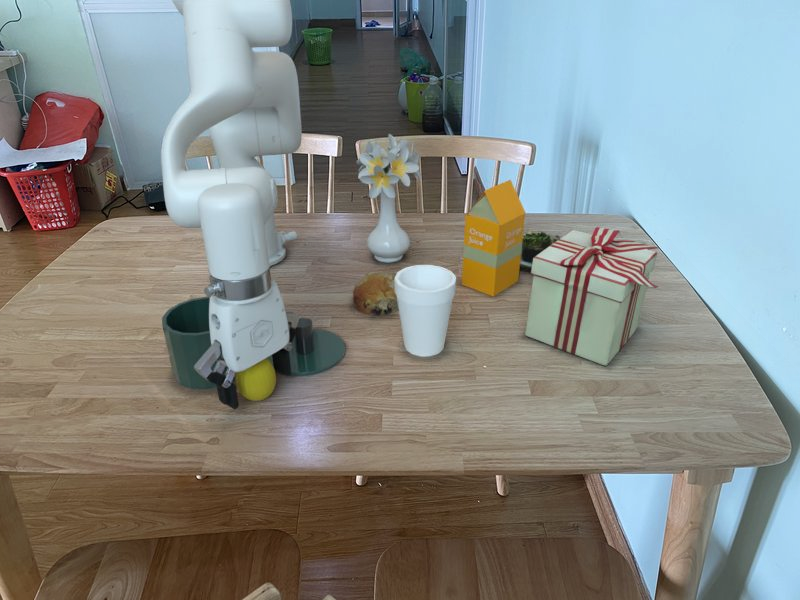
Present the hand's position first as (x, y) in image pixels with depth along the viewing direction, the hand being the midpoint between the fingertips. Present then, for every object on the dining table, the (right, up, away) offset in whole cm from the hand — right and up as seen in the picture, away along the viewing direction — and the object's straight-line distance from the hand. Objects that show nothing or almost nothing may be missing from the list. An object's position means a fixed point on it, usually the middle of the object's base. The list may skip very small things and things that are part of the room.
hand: (257, 387), depth 86 cm
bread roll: (+17, +11, +26) cm, 33 cm away
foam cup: (+24, +4, +13) cm, 28 cm away
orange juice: (+38, +16, +33) cm, 53 cm away
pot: (-9, +2, +8) cm, 12 cm away
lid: (+5, +4, +11) cm, 13 cm away
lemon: (0, -2, +1) cm, 2 cm away
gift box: (+53, +7, +16) cm, 56 cm away
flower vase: (+18, +21, +43) cm, 52 cm away
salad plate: (+51, +21, +43) cm, 70 cm away
